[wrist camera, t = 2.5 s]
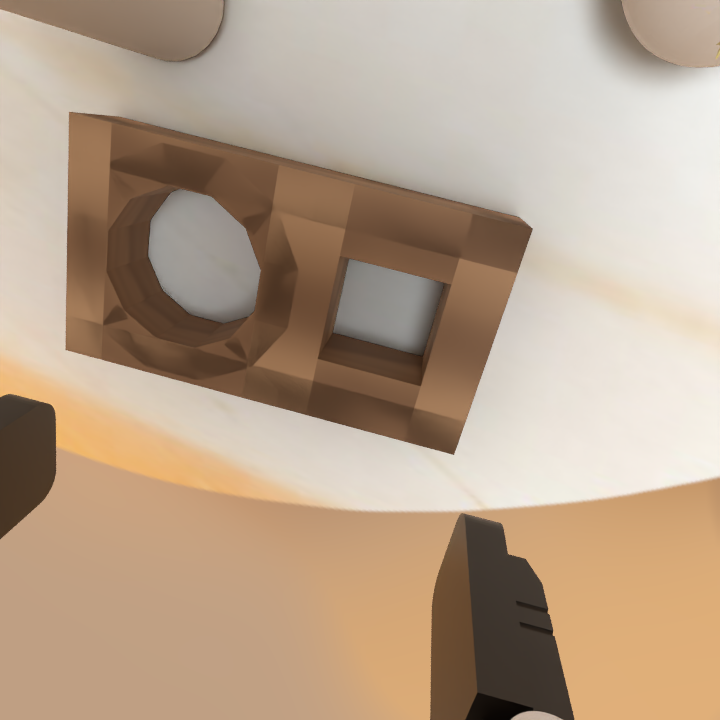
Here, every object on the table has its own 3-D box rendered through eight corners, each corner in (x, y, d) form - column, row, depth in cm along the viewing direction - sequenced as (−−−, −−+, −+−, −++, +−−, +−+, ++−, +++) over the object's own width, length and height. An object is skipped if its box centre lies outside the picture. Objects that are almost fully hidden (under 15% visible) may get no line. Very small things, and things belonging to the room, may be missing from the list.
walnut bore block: (119, 116, 24) (69, 111, 21) (519, 217, 23) (532, 229, 20) (109, 326, 28) (65, 349, 24) (451, 417, 27) (453, 454, 24)
